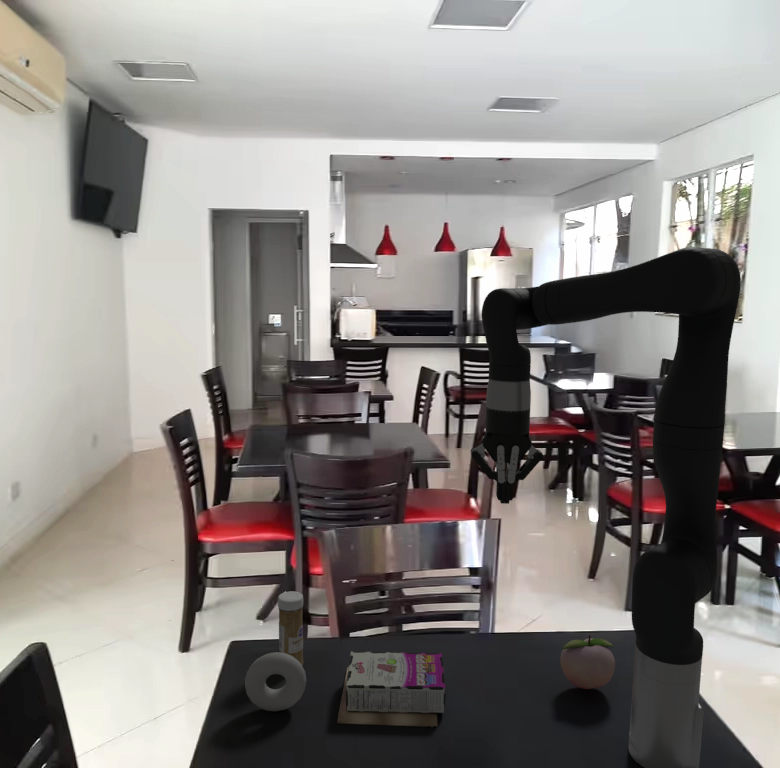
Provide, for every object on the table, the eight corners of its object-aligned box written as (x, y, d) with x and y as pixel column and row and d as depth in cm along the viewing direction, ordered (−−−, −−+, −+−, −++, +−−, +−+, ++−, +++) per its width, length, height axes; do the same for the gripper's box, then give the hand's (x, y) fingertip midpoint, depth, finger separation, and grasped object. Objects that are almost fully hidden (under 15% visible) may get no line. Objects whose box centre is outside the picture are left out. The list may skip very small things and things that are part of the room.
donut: (244, 718, 117) (243, 660, 115) (245, 705, 120) (244, 649, 119) (306, 714, 118) (306, 657, 116) (306, 701, 121) (306, 646, 120)
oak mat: (435, 672, 131) (435, 670, 131) (437, 726, 115) (437, 724, 115) (347, 669, 131) (347, 667, 131) (337, 723, 116) (337, 720, 115)
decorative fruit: (577, 708, 120) (580, 652, 119) (551, 682, 128) (554, 629, 127) (625, 698, 123) (628, 643, 122) (596, 673, 131) (599, 621, 130)
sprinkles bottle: (301, 671, 130) (300, 601, 128) (276, 670, 131) (275, 600, 129) (305, 658, 135) (305, 590, 133) (281, 657, 135) (280, 589, 133)
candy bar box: (442, 678, 128) (350, 675, 129) (443, 652, 127) (350, 649, 128) (445, 716, 117) (344, 712, 118) (446, 688, 116) (344, 684, 117)
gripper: (471, 408, 121) (468, 508, 123) (550, 409, 120) (546, 510, 123) (468, 400, 128) (465, 495, 130) (543, 402, 127) (539, 496, 130)
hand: (504, 502), depth 127 cm, fingers closed
